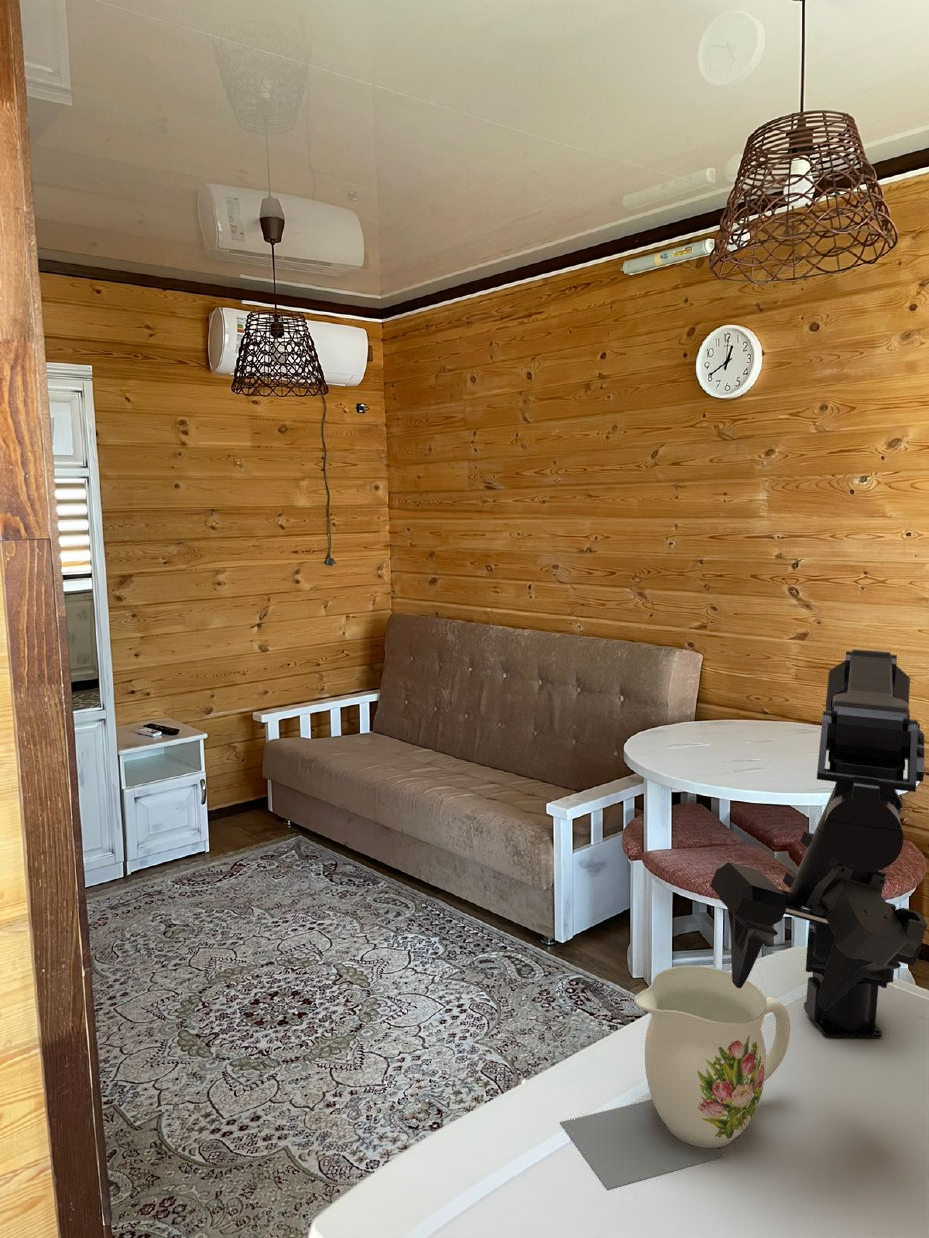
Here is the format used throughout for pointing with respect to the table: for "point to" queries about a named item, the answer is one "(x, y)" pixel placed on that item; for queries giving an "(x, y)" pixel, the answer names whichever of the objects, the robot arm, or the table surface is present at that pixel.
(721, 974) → the pitcher
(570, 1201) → the table surface
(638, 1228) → the table surface
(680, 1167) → the slate pad
